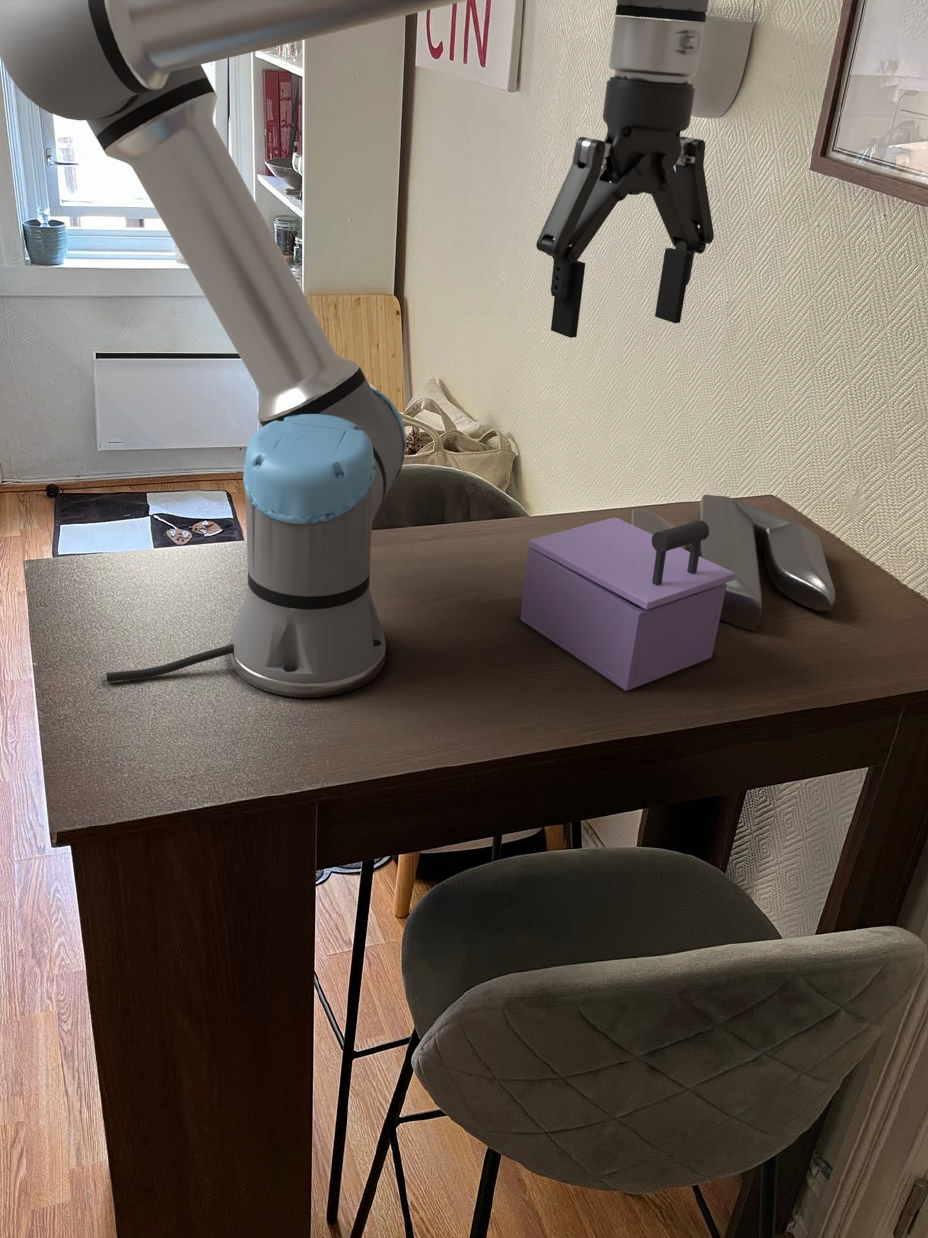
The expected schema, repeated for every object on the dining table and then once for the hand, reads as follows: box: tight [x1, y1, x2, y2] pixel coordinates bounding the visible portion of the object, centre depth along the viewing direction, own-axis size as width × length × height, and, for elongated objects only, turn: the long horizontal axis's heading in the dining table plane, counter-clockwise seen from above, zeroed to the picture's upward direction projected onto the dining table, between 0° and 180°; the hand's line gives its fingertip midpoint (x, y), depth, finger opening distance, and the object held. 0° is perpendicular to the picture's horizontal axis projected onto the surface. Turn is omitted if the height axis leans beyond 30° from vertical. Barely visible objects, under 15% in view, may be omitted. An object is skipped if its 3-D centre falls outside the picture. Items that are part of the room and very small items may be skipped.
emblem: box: [629, 494, 836, 631], centre depth 134 cm, size 28×5×28 cm
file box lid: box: [528, 516, 736, 610], centre depth 113 cm, size 17×13×6 cm
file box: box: [520, 546, 727, 692], centre depth 117 cm, size 17×13×9 cm
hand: (617, 326), depth 105 cm, fingers open, 13 cm apart
